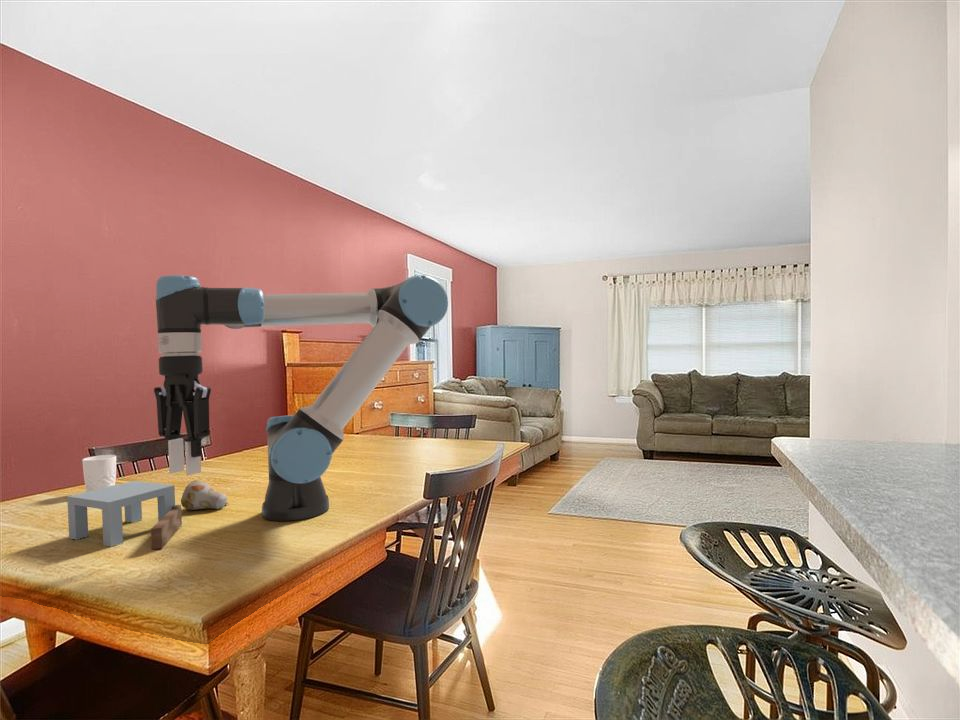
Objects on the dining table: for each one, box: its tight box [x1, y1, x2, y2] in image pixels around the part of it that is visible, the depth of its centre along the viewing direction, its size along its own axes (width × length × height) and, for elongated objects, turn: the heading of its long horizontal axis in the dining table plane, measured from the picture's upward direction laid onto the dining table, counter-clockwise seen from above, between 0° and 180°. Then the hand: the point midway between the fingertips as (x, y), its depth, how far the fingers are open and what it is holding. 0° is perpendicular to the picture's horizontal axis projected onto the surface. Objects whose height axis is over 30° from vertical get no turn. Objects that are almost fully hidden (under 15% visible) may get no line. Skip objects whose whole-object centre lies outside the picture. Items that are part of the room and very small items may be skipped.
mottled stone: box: [180, 479, 229, 511], centre depth 132 cm, size 8×10×10 cm
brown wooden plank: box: [150, 504, 183, 550], centre depth 112 cm, size 15×2×5 cm, turn 16°
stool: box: [66, 480, 176, 548], centre depth 116 cm, size 14×14×9 cm
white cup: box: [81, 454, 117, 492], centre depth 151 cm, size 8×8×10 cm
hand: (185, 472), depth 106 cm, fingers open, 4 cm apart
